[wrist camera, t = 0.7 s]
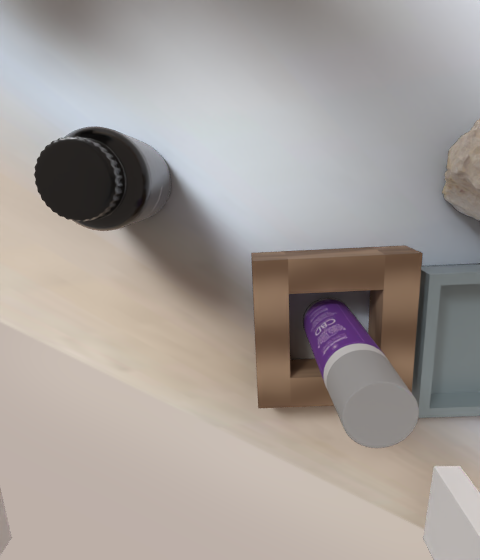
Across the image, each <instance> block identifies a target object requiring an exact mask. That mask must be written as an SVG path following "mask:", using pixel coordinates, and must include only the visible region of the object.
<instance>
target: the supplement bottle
mask: <svg viewBox="0 0 480 560" xmlns="http://www.w3.org/2000/svg"><path fill="white" fill-rule="evenodd" d="M35 170H36V171H35V174H34V176H35V178H36V181H35V184H36V185H37V187H38V192H39V193H40V195H41V198H42V200H43V201H45V203H46V205H47V206H48V207H50V208H51V210H52V211H53V212H56V213H57V214H58V215H59V216H62V217H65V218H66V219H71V220H73V221H74V222H76V223H77V224H79V225H81V226H83V227H86V228H89V229H93V230H98V231H109V230H115V229H119V228H122V227H125V226H128V225H131V224H133V223H136V222H139V221H142V220H144V219H147V218H149V217H151V216H153V215H154V214H156V213H157V212H158V211H159V210H160V209H161V208H162V207H163V206H164V204H165V203H166V201H167V199H168V197H169V194H170V189H171V177H170V172H169V169H168V166H167V164H166V162H165V160H164V159H163V157H162V156H161V155H160V154H159V153H158V152H157V151H156V150H155V149H154V148H153V147H151V146H150V145H148V144H146V143H144V142H142V141H139V140H137V139H134V138H132V137H130V136H127V135H125V134H122V133H120V132H117V131H115V130H112V129H108V128H104V127H85V128H81V129H78V130H75V131H73V132H71V133H70V134H68V135H67V136H65V137H64V138H59V139H58V140H57V141H52V142H51V144H50V145H47V146H46V147H45V150H43V151H42V152H41V154H40V157H39V158H38V159H37V164H36V166H35Z"/></svg>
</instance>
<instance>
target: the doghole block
mask: <svg viewBox="0 0 480 560" xmlns="http://www.w3.org/2000/svg"><path fill="white" fill-rule="evenodd" d="M251 256H252V278H253V300H254V323H255V345H256V367H257V389H258V408H278V407H306V406H334V404H333V402H332V399H331V397H330V395H329V392H328V390H327V388H326V385H325V383H324V380H323V378H322V375H321V372H320V370H319V367H318V364H317V362H316V359H298V360H290V337H289V294H299V293H321V292H344V291H366V290H370V304H369V328H368V334H369V335H370V337H371V338H372V339H373V340H374V342H375V343H376V344H377V345H378V347H379V348H380V349H381V351H382V352H383V353H384V354H385V356H386V357H387V359H388V360H389V362H390V363H391V365H392V366H393V367H394V369H395V370H396V372H397V373H398V374H399V376H400V377H401V379H402V380H403V382H404V383H405V384H406V386H407V387H408V389H409V390H410V391H411V393H412V382H413V369H414V356H415V343H416V330H417V317H418V304H419V291H420V278H421V266H422V253H421V252H419V251H416V250H414V249H412V248H410V247H407V246H386V247H365V248H344V249H323V250H302V251H282V252H261V253H251Z"/></svg>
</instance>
